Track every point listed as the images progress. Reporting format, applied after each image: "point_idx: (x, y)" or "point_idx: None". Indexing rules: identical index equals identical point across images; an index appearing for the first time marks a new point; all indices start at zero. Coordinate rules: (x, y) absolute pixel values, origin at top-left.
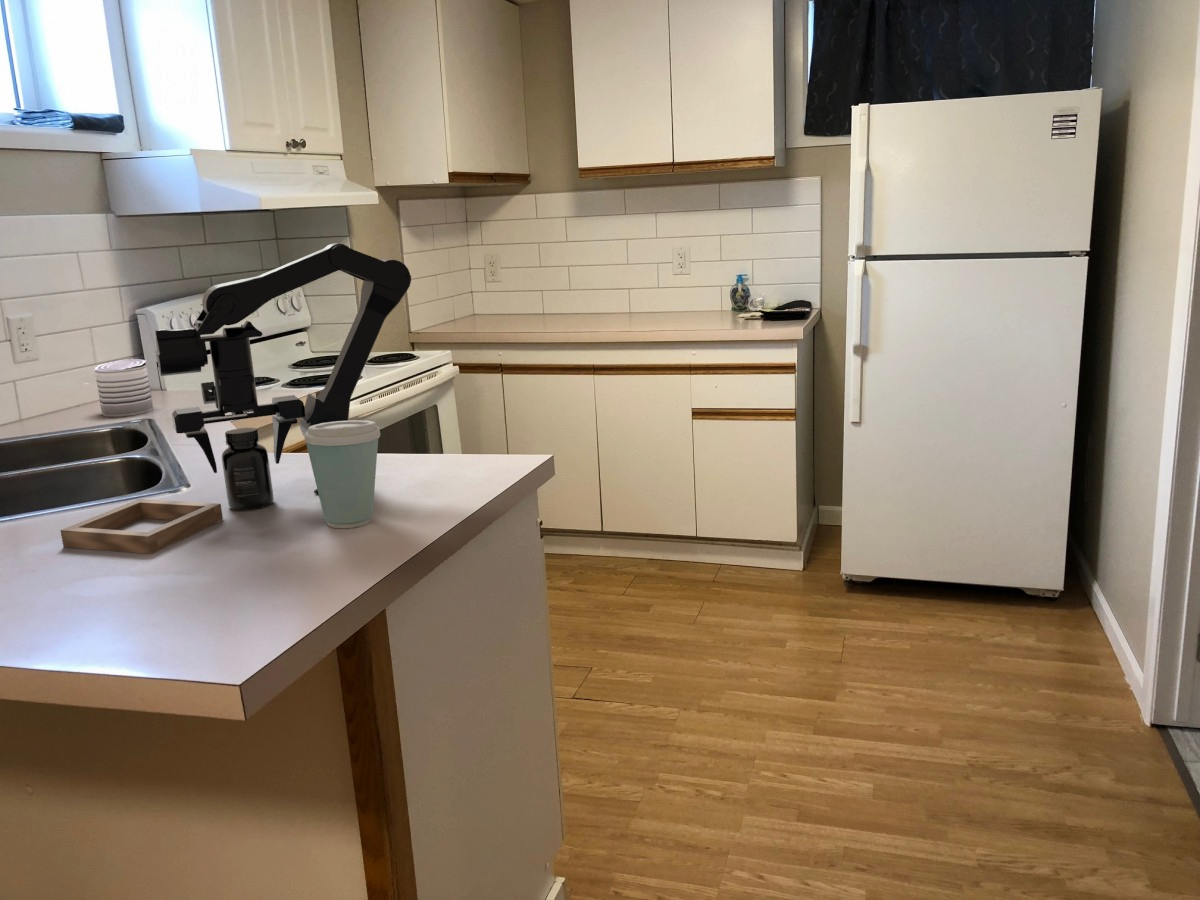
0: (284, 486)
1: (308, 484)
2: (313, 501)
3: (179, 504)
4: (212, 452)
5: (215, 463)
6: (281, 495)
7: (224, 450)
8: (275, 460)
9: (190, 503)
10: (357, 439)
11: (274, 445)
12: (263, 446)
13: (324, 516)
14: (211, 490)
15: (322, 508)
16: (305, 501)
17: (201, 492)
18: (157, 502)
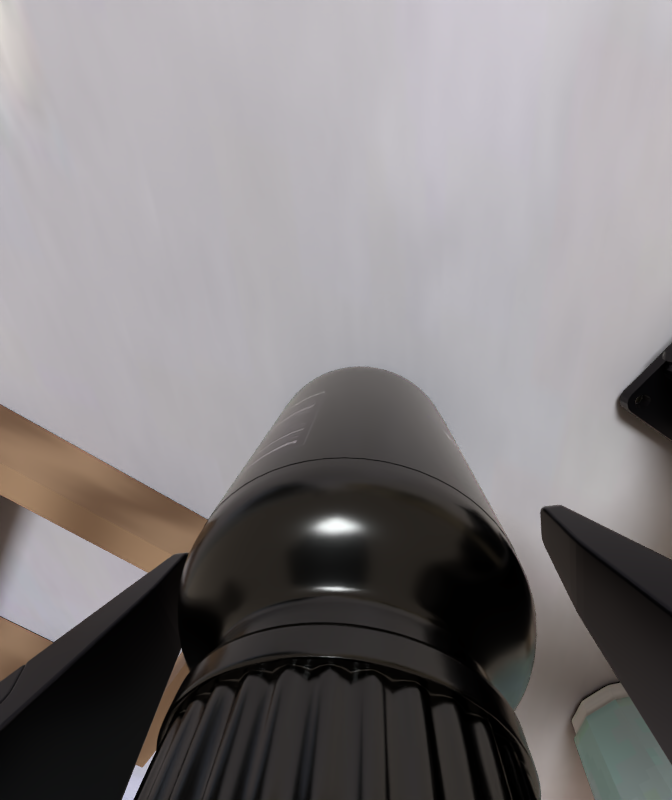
0: (508, 178)
1: (635, 189)
2: (587, 491)
3: (121, 557)
4: (126, 781)
5: (177, 657)
6: (478, 351)
7: (184, 648)
8: (549, 537)
9: (158, 561)
10: None
11: (636, 625)
12: (526, 672)
13: (579, 754)
14: (141, 95)
15: (591, 789)
16: (558, 478)
17: (102, 120)
18: (25, 500)
